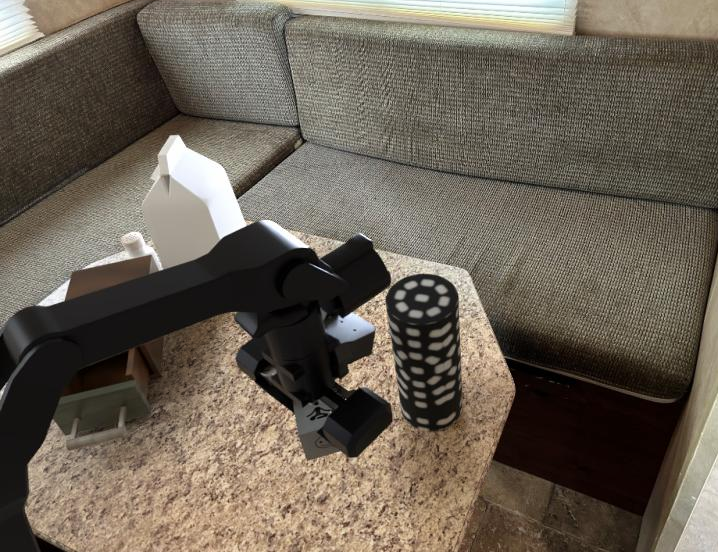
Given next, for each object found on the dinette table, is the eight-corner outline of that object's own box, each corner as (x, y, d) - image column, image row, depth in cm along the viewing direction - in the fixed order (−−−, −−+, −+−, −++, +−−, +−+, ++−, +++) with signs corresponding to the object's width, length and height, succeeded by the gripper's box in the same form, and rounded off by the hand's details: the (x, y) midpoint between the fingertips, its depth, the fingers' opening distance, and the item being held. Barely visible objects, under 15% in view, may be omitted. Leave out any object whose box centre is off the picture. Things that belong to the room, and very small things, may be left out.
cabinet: (161, 376, 90) (141, 339, 84) (73, 397, 88) (47, 361, 83) (168, 290, 104) (151, 254, 99) (92, 307, 103) (72, 271, 98)
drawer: (148, 443, 80) (131, 415, 76) (58, 466, 78) (35, 438, 74) (159, 321, 97) (145, 293, 93) (86, 338, 96) (69, 310, 92)
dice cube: (307, 461, 67) (298, 435, 64) (300, 424, 71) (292, 398, 68) (350, 448, 68) (344, 422, 65) (342, 412, 72) (335, 386, 69)
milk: (241, 297, 101) (194, 163, 85) (175, 300, 102) (115, 168, 86) (256, 251, 111) (216, 122, 94) (195, 254, 111) (144, 128, 95)
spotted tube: (393, 424, 80) (375, 318, 67) (410, 375, 86) (397, 269, 73) (455, 437, 77) (449, 330, 65) (468, 385, 83) (465, 278, 71)
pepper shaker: (149, 289, 105) (128, 247, 99) (134, 282, 107) (113, 240, 101) (167, 276, 107) (148, 233, 101) (152, 269, 109) (133, 227, 103)
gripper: (423, 332, 58) (432, 427, 68) (297, 258, 68) (320, 350, 78) (340, 408, 52) (362, 500, 62) (215, 314, 62) (252, 406, 72)
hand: (323, 431), depth 69 cm, fingers closed on dice cube, 6 cm apart
